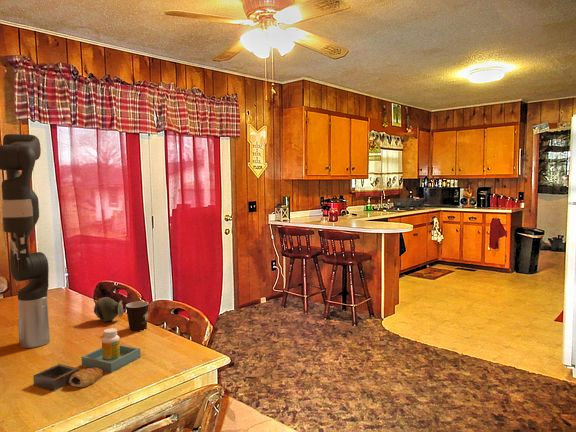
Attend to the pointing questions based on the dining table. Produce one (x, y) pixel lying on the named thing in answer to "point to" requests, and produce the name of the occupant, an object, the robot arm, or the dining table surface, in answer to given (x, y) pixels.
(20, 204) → the robot arm
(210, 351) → the dining table surface
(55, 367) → the collar
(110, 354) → the supplement bottle
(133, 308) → the coffee mug
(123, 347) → the tray
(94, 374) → the pastry
